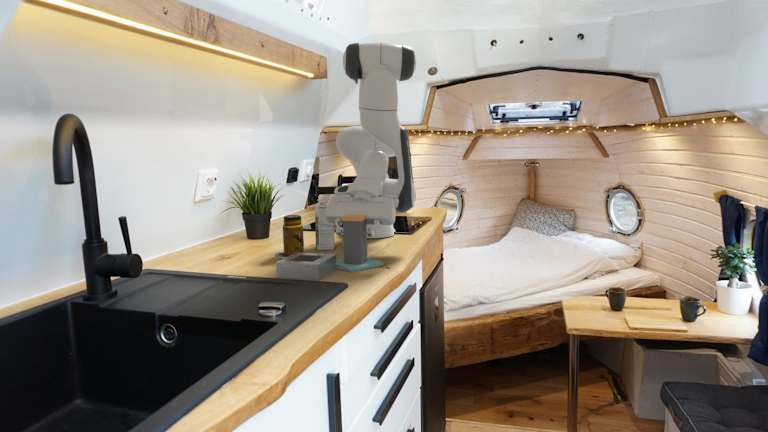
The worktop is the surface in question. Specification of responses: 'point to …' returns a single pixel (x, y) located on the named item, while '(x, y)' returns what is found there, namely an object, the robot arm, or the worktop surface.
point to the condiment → (292, 236)
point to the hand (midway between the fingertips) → (354, 234)
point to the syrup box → (323, 229)
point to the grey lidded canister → (354, 239)
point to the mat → (355, 267)
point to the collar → (306, 266)
